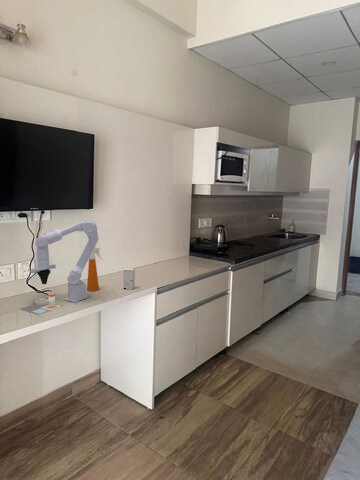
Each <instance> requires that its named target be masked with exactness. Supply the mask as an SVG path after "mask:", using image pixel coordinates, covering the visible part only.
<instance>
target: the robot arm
mask: <svg viewBox="0 0 360 480" xmlns="http://www.w3.org/2000/svg"><path fill="white" fill-rule="evenodd" d="M74 232H75V233H76V232H84V233H85V235H86V236H87V238H88V241H87V243H86V245H85V247H84V249H83V251H82V252H81V255H80V256H79V259H78V260H77V262H76V264H75V266H74V268H73V270H71V271H70V273H69V275H68V276H67V293H68V294H67V295H68V296H67V297H66V298H65V299H64V300H65V301H69V302H72V303H77V302H80V301H82V300H85V299H87V298H88V297H89V296H87V294H88V293H87V291H88V290H87V284H86V282H84V281H82V280H81V278H82V273H83V270H84V268H85V267H86V265H87V263H88V262H89V257H90V255H91V253H92V251H93V249H94V248H95V247H97V246H96V245H97V244H98V242H99V234H98V233H99V232H98V226H97V224H96V223H95V221H93V220H91V219H87V220H85V221H81V222H80V221H79V222H77V223H74V224H72V225H71V226H68V227H66V228H63V229H61V230H59V229H52V230H51V231H50V232H48V233H43V235H40V236H38V237H36V239H35V241H34V242H35V243H34V244H35V246H36V262H37V266H36V267H35V268H34V267H33V268H31V269H30V274H35V273H36V274H37V275H38V277H39V279H40V282H41V284H42V285H47V284H48V278H49V276H50V274H51V270H53V269H56V267H57V265H56V264H54V263H52V264H50V259H49V258H50V256H49V255H50V253H49V245H52V244H54V243H56V242H59V241H61V240H62V239H63V237H64V236H67V235H69V234H72V233H74Z"/></svg>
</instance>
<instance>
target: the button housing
mask: <svg viewBox="0 0 360 480" xmlns="http://www.w3.org/2000/svg"><path fill="white" fill-rule="evenodd" d="M34 302H35V303H34V304H36V305H41V306H42V305H45V304H48V298H46V300H45V301H42V302H41V301H38V299H36V300H34Z"/></svg>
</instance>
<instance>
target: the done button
mask: <svg viewBox="0 0 360 480" xmlns="http://www.w3.org/2000/svg"><path fill="white" fill-rule="evenodd" d="M46 299H47V298H46V297H41V298H37V300H38V301H41V302H42V301H45V300H46Z"/></svg>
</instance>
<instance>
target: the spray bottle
mask: <svg viewBox="0 0 360 480" xmlns="http://www.w3.org/2000/svg"><path fill="white" fill-rule="evenodd" d="M100 250H101V246H95V248H94V249H93V251H92V253H91V255H90V257H89V259H88V268H87V269H88V270H87V271H88V272H87V282H86V283H87V284H86V290H87V291H88V292H96V290H97V291H99V290H100V286H99V279H98V278H99V276H98V270H97V261H96V256H98V258H99V259H100V260H101V261H103V260H104V258H103V257H102V255H101V254H100ZM95 254H96V255H95Z"/></svg>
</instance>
